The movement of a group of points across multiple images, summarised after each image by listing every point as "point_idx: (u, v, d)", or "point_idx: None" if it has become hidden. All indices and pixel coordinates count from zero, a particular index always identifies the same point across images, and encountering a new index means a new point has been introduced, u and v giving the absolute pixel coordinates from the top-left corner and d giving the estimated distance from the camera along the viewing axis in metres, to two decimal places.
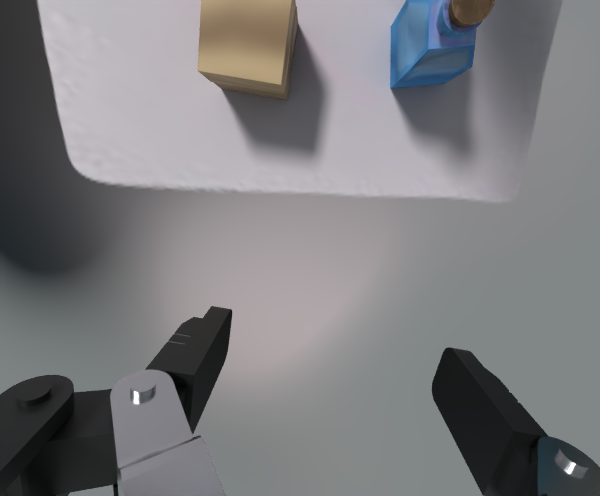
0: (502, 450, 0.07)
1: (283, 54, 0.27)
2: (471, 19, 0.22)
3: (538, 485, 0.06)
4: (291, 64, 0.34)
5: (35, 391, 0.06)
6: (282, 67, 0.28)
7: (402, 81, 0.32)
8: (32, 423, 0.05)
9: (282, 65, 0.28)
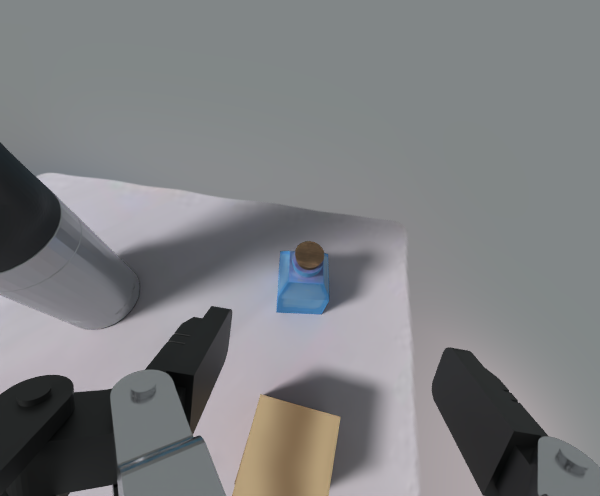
0: (502, 450, 0.07)
1: (314, 411, 0.28)
2: (321, 255, 0.32)
3: (538, 485, 0.06)
4: None
5: (35, 391, 0.06)
6: (325, 413, 0.28)
7: None
8: (32, 423, 0.05)
9: (324, 413, 0.28)
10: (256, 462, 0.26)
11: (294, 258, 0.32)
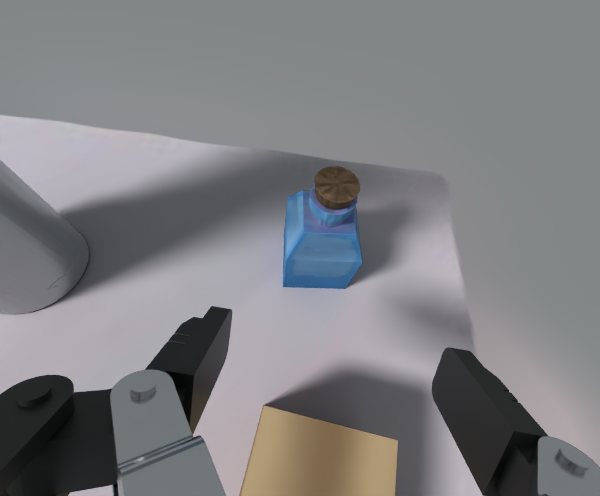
0: (502, 450, 0.07)
1: (355, 431, 0.17)
2: (355, 185, 0.20)
3: (538, 485, 0.06)
4: None
5: (35, 392, 0.06)
6: (372, 435, 0.17)
7: None
8: (32, 423, 0.05)
9: (370, 434, 0.17)
10: None
11: (312, 193, 0.21)
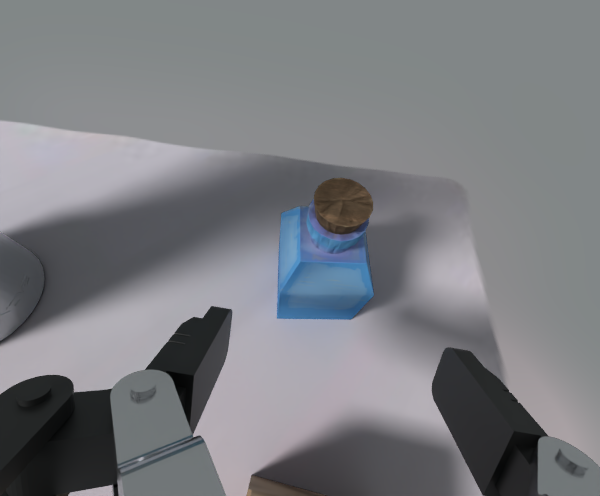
0: (502, 450, 0.07)
1: None
2: (367, 203, 0.16)
3: (538, 485, 0.06)
4: None
5: (35, 392, 0.06)
6: None
7: None
8: (32, 423, 0.05)
9: None
10: None
11: (311, 213, 0.16)
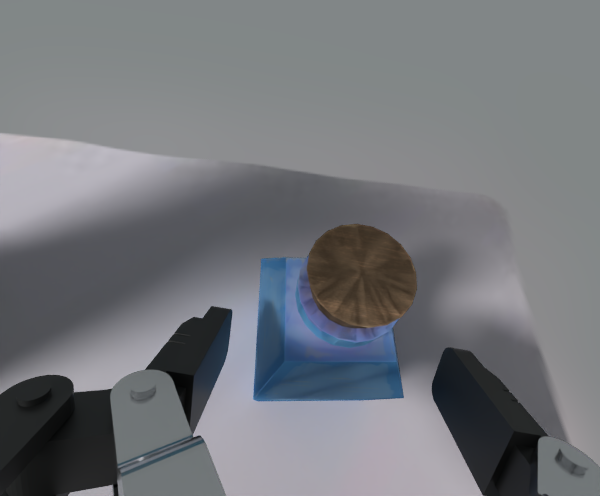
0: (502, 450, 0.07)
1: None
2: (405, 274, 0.08)
3: (538, 485, 0.06)
4: None
5: (35, 392, 0.06)
6: None
7: None
8: (32, 423, 0.05)
9: None
10: None
11: (303, 286, 0.09)
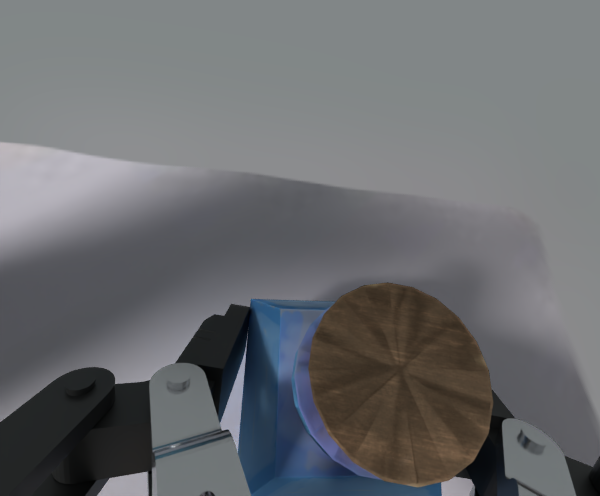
0: None
1: None
2: (471, 373, 0.05)
3: (505, 468, 0.06)
4: None
5: (81, 382, 0.06)
6: None
7: None
8: (82, 411, 0.06)
9: None
10: None
11: (303, 376, 0.06)
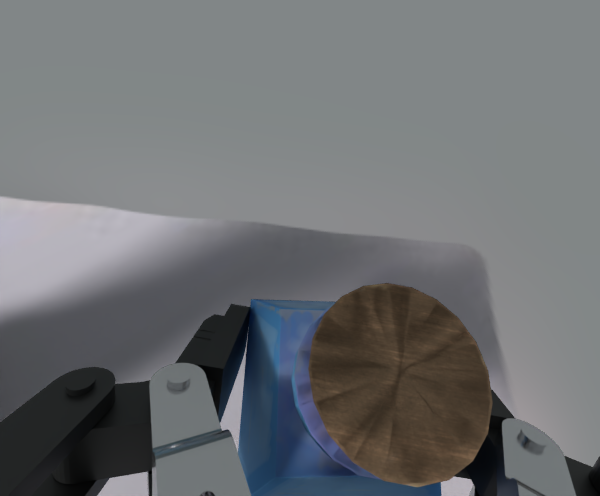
0: None
1: None
2: (470, 373, 0.05)
3: (505, 468, 0.06)
4: None
5: (82, 382, 0.06)
6: None
7: None
8: (82, 411, 0.06)
9: None
10: None
11: (303, 377, 0.06)
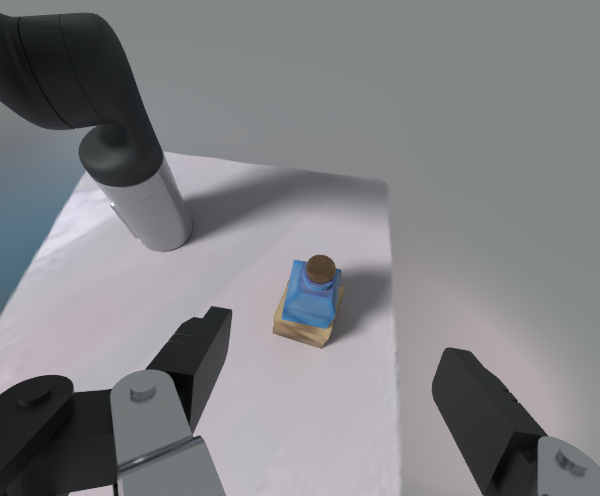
0: (502, 450, 0.07)
1: None
2: (332, 271, 0.31)
3: (538, 485, 0.06)
4: None
5: (35, 391, 0.06)
6: None
7: None
8: (32, 423, 0.05)
9: None
10: None
11: (305, 269, 0.32)
